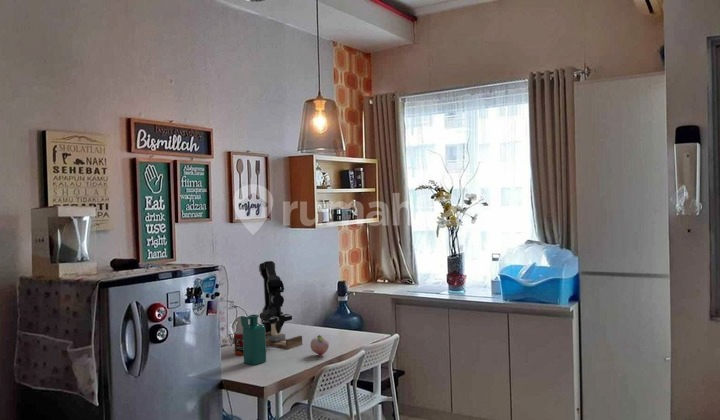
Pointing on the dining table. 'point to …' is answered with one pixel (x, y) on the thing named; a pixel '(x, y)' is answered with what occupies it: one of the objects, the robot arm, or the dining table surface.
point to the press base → (285, 342)
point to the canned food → (238, 342)
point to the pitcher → (253, 340)
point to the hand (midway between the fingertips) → (276, 332)
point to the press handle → (275, 334)
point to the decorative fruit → (319, 345)
